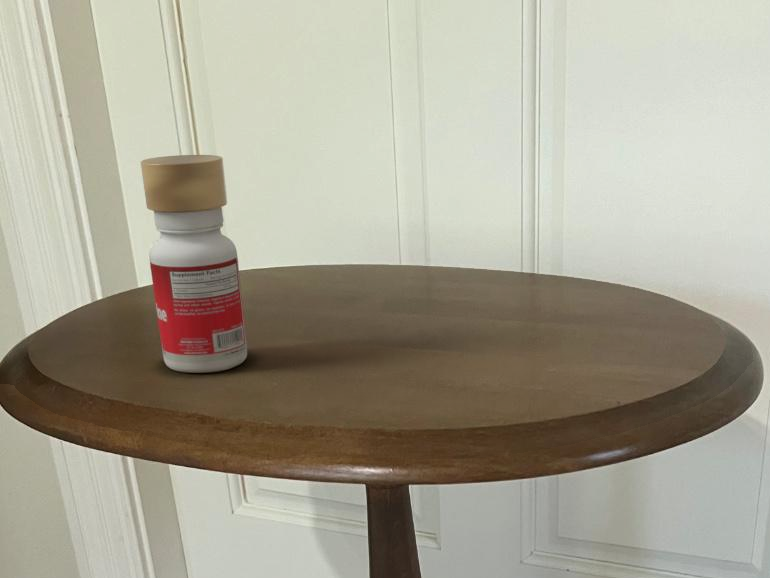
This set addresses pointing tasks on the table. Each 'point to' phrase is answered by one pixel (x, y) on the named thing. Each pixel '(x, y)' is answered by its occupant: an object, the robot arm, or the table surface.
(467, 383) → the table surface
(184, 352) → the pill bottle
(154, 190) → the squat tan drum
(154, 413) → the table surface
